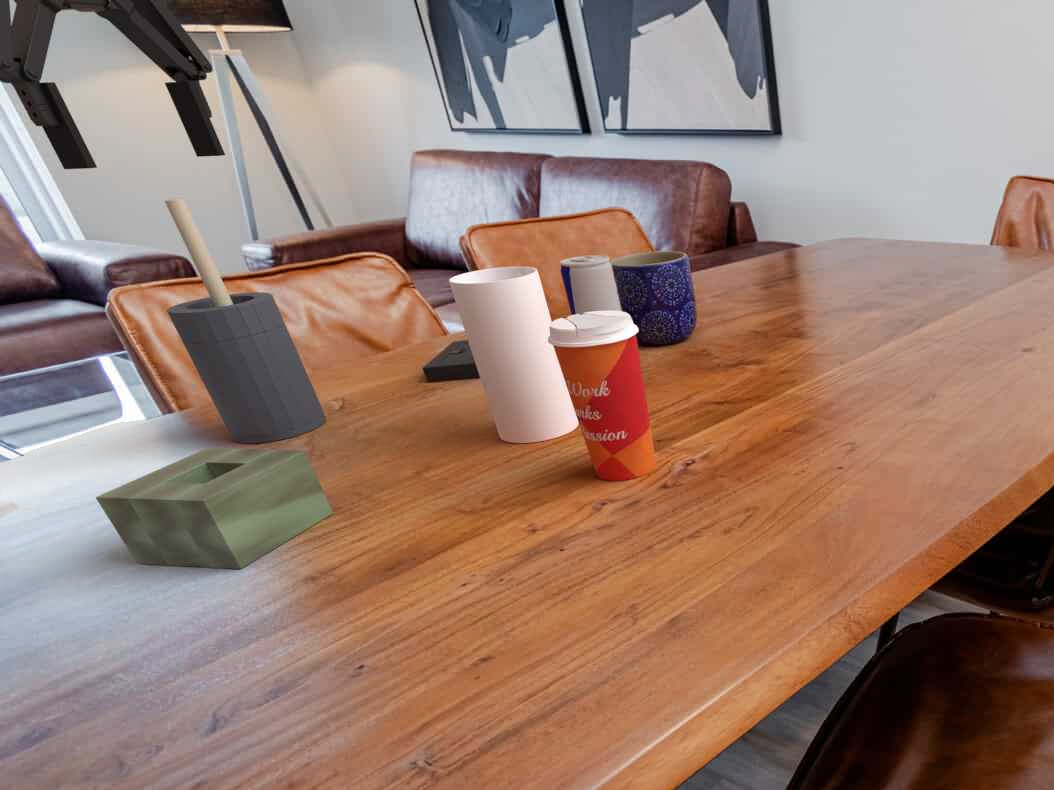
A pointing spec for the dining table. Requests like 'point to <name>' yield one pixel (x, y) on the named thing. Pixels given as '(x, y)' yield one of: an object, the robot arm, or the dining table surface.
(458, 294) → the cup
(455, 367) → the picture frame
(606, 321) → the paper cup
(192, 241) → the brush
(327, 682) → the dining table surface
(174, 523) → the holder
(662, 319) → the planter
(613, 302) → the beverage can
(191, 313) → the dark gray cylindrical container
